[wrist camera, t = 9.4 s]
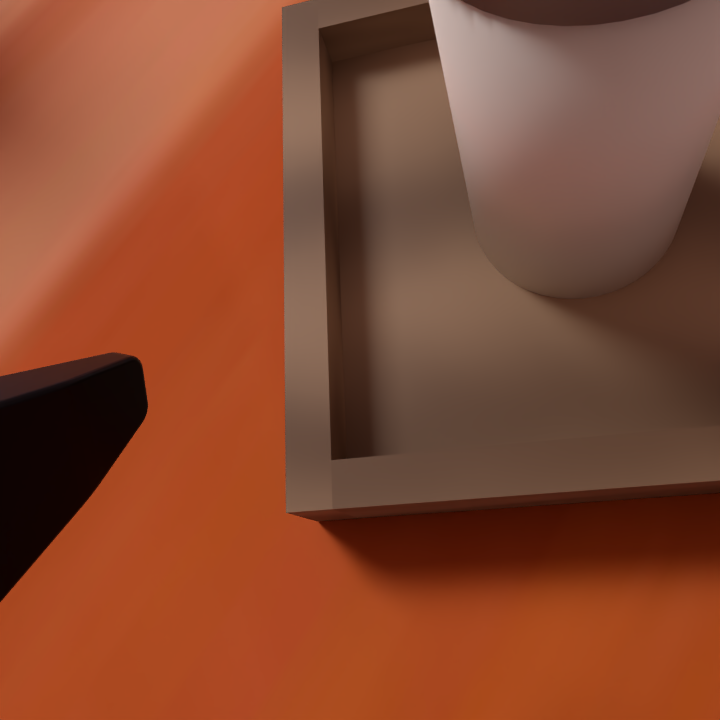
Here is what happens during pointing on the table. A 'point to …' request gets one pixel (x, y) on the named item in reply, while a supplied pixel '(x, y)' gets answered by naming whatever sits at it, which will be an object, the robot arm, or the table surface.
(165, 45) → the table surface
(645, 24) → the shaker
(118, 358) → the robot arm
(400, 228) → the tray
